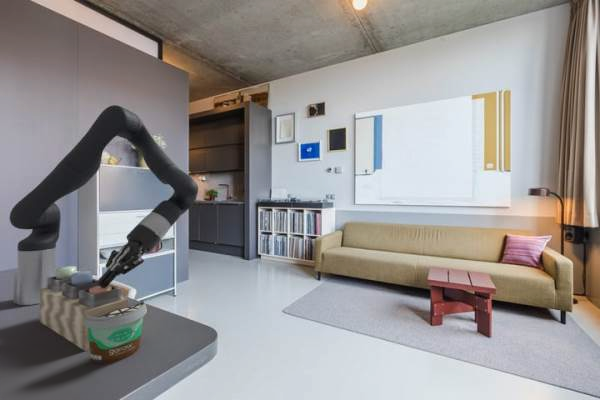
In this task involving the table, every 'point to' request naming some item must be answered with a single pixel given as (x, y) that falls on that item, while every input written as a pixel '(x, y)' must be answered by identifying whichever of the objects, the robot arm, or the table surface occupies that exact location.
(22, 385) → the table surface
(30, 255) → the robot arm
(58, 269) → the sage button
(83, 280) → the slate button
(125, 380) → the table surface
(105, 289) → the peach rounded knob
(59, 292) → the button console
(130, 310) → the food container
